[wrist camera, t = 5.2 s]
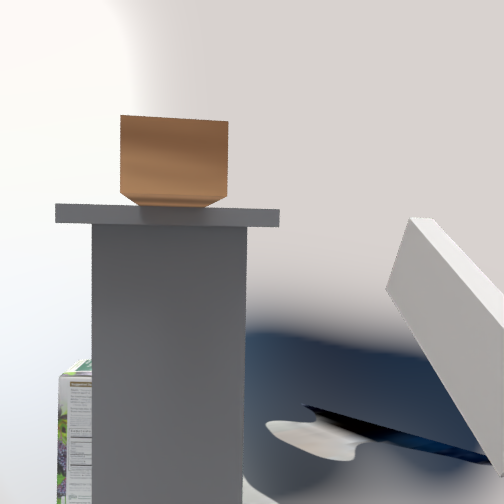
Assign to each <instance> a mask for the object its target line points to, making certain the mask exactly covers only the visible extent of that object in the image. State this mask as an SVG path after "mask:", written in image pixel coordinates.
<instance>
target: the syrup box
mask: <svg viewBox="0 0 504 504" xmlns="http://www.w3.org/2000/svg"><path fill="white" fill-rule="evenodd" d="M58 398H59V399H58V456H57V504H92V359H86V360H79V361H77V362H76V363H75V364H74V365H73V366H72V367H70V368H69V369H68V370H67V371H66V372H64V373H63V374H62V375H61V376H60V377H59V394H58Z"/></svg>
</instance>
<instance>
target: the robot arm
mask: <svg viewBox="0 0 504 504" xmlns="http://www.w3.org/2000/svg"><path fill="white" fill-rule="evenodd" d="M386 291H387V292H388V294H389V296H390V297H391V299H392V301H393V302H394V304H395V306H396V307H397V309H398V311H399V312H400V314H401V315H402V317H403V319H404V320H405V322H406V324H407V325H408V327H409V329H410V330H411V332H412V334H413V335H414V337H415V339H416V340H417V342H418V343H419V345H420V347H421V348H422V350H423V352H424V353H425V355H426V356H427V358H428V360H429V361H430V363H431V365H432V367H433V368H434V370H435V371H436V373H437V375H438V376H439V378H440V379H441V381H442V383H443V385H444V386H445V388H446V389H447V391H448V393H449V394H450V396H451V398H452V399H453V401H454V403H455V404H456V406H457V408H458V409H459V411H460V413H461V414H462V416H463V417H464V419H465V421H466V422H467V424H468V426H469V427H470V429H471V431H472V432H473V434H474V436H475V437H476V439H477V441H478V442H479V444H480V445H481V447H482V449H483V450H484V452H485V454H486V455H487V457H488V459H489V460H490V462H491V464H492V465H493V467H494V468H495V470H496V472H497V473H498V475H499V477H504V295H503V294H502V293H501V291H500V290H499V289H498V288H497V287H496V286H495V285H494V284H493V283H492V282H491V281H490V280H489V279H488V278H487V276H486V275H485V274H484V273H483V272H482V271H481V270H480V269H479V268H478V267H477V266H476V265H475V264H474V262H473V261H472V260H471V259H470V258H469V257H468V256H467V255H466V254H465V253H464V252H463V251H462V250H461V249H460V247H459V246H458V245H457V244H456V243H455V242H454V241H453V240H452V239H451V238H450V237H449V236H448V235H447V234H446V232H445V231H443V229H442V228H441V227H440V226H439V225H438V224H437V223H436V222H435V221H434V220H433V219H432V218H409V220H408V223H407V226H406V230H405V232H404V235H403V238H402V241H401V245H400V247H399V250H398V253H397V256H396V260H395V262H394V265H393V268H392V271H391V275H390V278H389V281H388V283H387V286H386Z"/></svg>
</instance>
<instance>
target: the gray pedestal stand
mask: <svg viewBox="0 0 504 504" xmlns="http://www.w3.org/2000/svg"><path fill="white" fill-rule="evenodd" d="M55 212H56V213H55V217H56V218H55V222H56V223H87V224H92V504H242V482H243V429H244V428H243V427H244V426H243V425H244V375H245V373H244V372H245V322H246V321H245V320H246V266H247V227H279V213H280V210H279V209H242V208H240V209H239V208H205V207H167V206H129V205H126V206H125V205H92V204H91V205H90V204H55Z"/></svg>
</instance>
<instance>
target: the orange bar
mask: <svg viewBox="0 0 504 504" xmlns="http://www.w3.org/2000/svg"><path fill="white" fill-rule="evenodd" d="M120 126H121V128H120V130H121V131H120V133H121V134H120V152H121V153H120V193H121V194H123V195H124V196H126V197H127V198H128V199H130V200H131V201H133V202H134V203H136V204H138V205H139V206H167V207H206V206H209V205H210V204H213V203H215V202H217V201H219V200H220V199H223V198H225V197H226V196H227V174H228V173H227V172H228V171H227V170H228V121H212V120H196V119H178V118H162V117H145V116H129V115H121V123H120Z"/></svg>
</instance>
